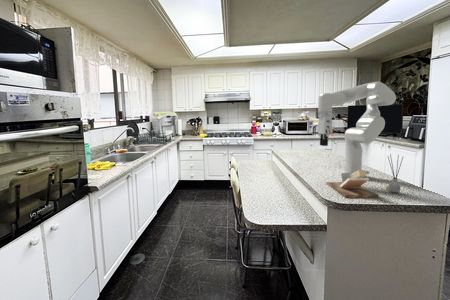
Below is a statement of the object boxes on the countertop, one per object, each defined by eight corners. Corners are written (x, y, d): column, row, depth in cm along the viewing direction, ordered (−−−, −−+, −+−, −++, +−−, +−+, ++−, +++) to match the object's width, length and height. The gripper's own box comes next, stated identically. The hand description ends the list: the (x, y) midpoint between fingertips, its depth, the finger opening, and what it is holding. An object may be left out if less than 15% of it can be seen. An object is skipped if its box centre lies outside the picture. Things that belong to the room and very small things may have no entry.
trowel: (355, 173, 126) (369, 166, 114) (357, 184, 124) (372, 178, 112) (340, 173, 126) (353, 167, 114) (342, 184, 124) (355, 179, 112)
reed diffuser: (405, 194, 117) (408, 155, 114) (392, 195, 116) (395, 155, 114) (390, 189, 127) (392, 152, 125) (378, 189, 127) (380, 153, 124)
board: (352, 184, 137) (352, 182, 137) (378, 197, 113) (378, 194, 113) (324, 184, 137) (325, 182, 137) (345, 198, 114) (345, 195, 113)
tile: (368, 177, 116) (369, 180, 116) (357, 185, 126) (358, 188, 125) (348, 178, 116) (348, 180, 116) (339, 186, 126) (339, 188, 125)
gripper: (337, 114, 130) (336, 146, 133) (325, 115, 146) (324, 144, 149) (324, 114, 130) (322, 147, 133) (313, 115, 146) (312, 144, 149)
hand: (323, 145), depth 141 cm, fingers closed
